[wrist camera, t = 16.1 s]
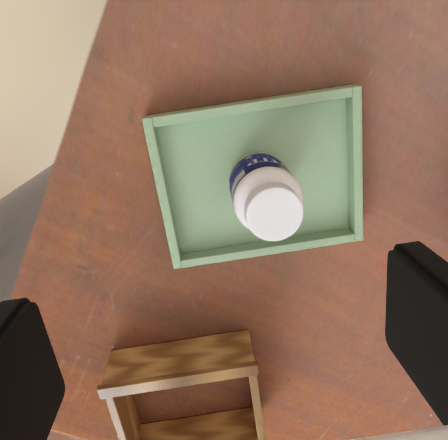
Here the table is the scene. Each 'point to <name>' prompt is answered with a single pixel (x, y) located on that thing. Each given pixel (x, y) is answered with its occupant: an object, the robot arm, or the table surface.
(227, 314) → the table surface
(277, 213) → the pill bottle
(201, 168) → the tray
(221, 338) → the wooden box
